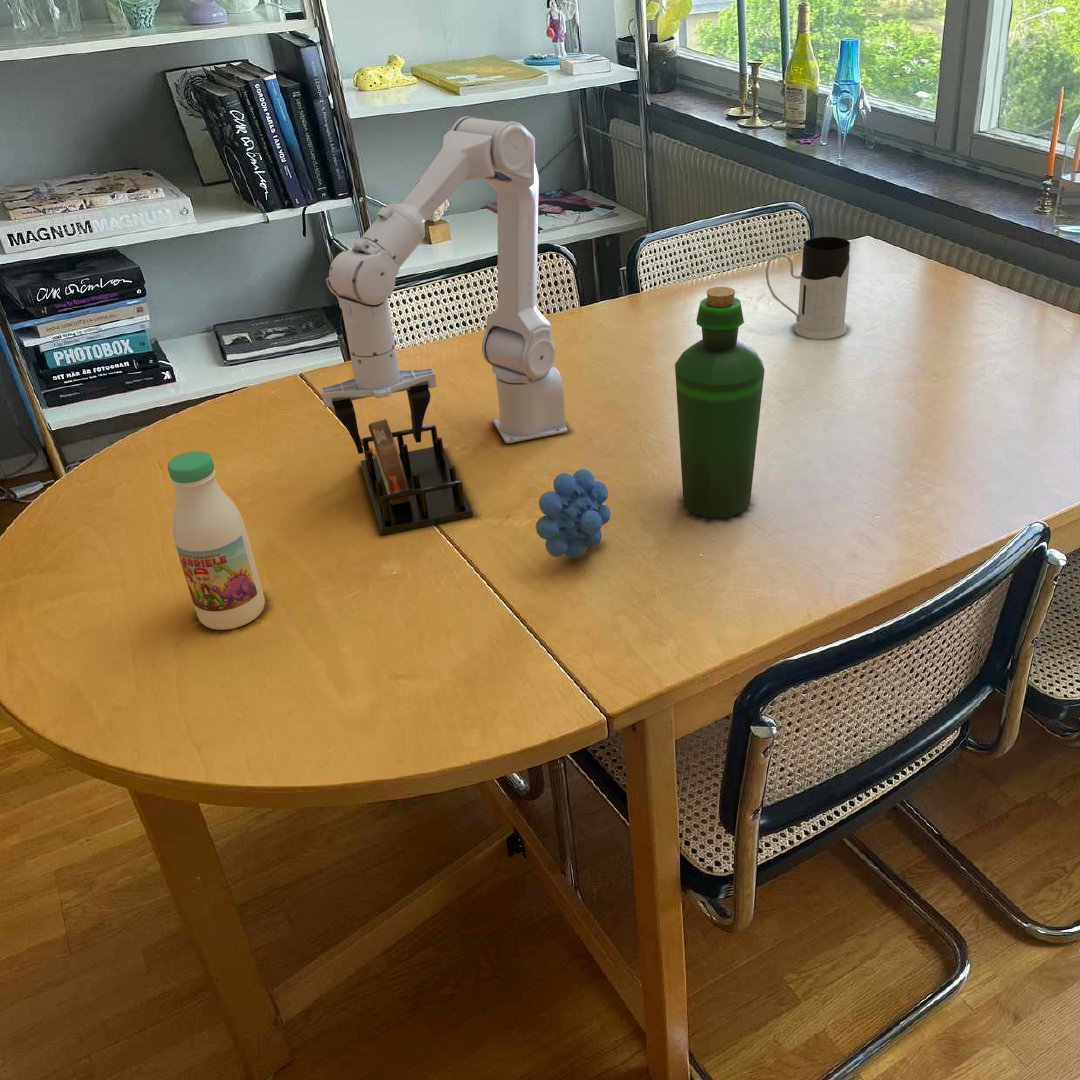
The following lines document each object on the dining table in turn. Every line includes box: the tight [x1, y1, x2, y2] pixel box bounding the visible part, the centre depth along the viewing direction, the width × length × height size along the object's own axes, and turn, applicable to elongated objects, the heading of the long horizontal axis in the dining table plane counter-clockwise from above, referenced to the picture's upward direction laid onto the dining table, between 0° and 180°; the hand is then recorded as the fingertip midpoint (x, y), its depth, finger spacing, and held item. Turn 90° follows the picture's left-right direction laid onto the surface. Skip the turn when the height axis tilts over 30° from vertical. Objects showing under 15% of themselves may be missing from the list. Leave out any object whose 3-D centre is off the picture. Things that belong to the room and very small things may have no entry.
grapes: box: [535, 468, 611, 560], centre depth 121 cm, size 12×7×12 cm, turn 135°
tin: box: [367, 418, 411, 505], centre depth 138 cm, size 15×3×8 cm, turn 16°
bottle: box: [674, 286, 765, 518], centre depth 125 cm, size 11×11×28 cm
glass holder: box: [765, 236, 851, 340], centre depth 175 cm, size 9×14×15 cm, turn 89°
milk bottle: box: [167, 450, 266, 631], centre depth 115 cm, size 8×8×20 cm
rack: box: [360, 424, 474, 536], centre depth 140 cm, size 12×20×5 cm, turn 16°
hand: (388, 444), depth 137 cm, fingers open, 7 cm apart
